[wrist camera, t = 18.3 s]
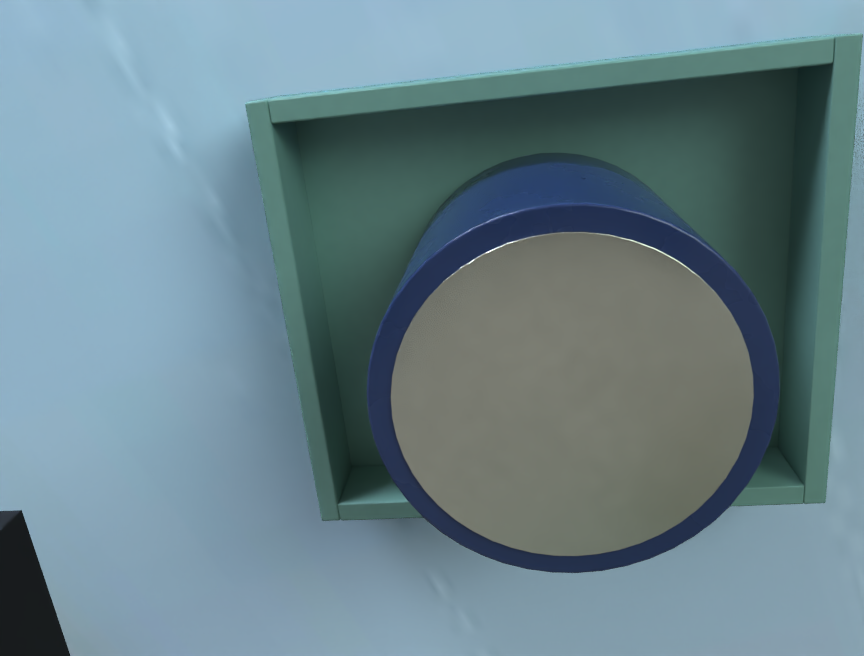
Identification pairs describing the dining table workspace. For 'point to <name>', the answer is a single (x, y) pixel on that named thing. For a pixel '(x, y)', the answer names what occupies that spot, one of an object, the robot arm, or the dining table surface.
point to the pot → (570, 370)
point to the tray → (576, 134)
